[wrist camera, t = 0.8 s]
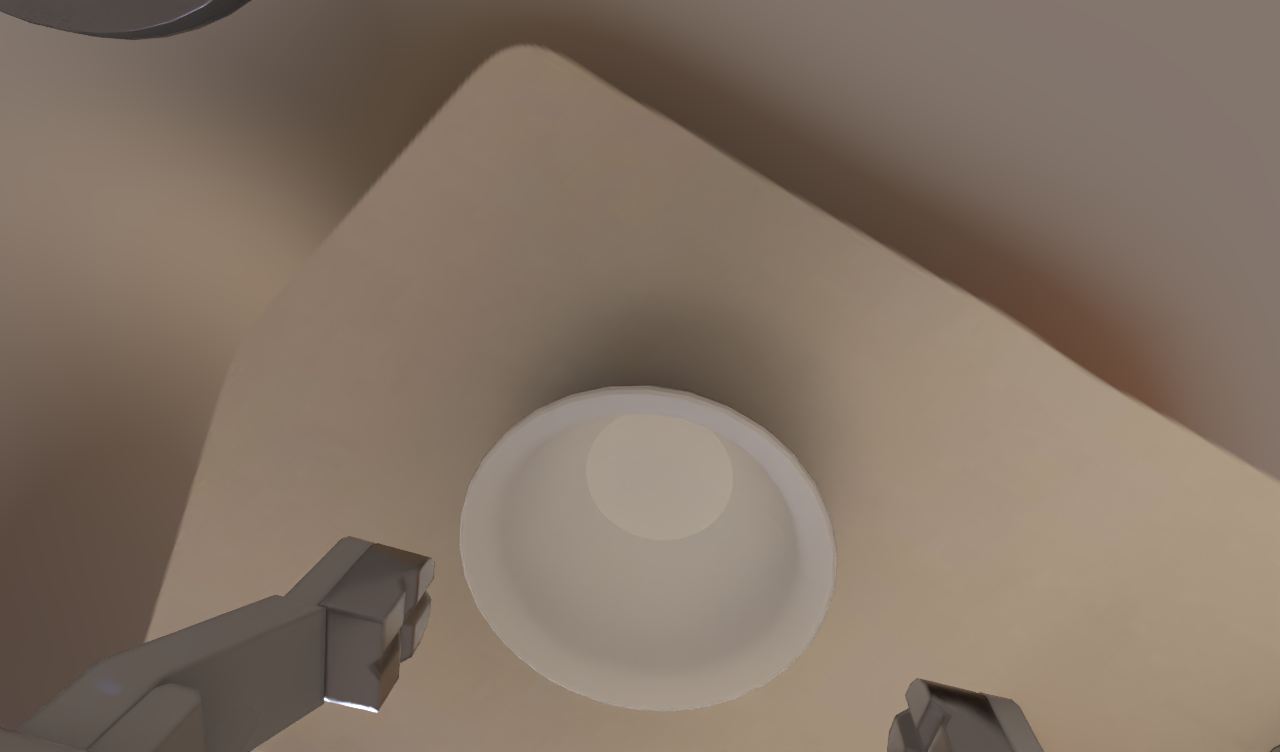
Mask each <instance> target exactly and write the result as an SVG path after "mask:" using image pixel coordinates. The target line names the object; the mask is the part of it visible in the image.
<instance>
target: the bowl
mask: <svg viewBox="0 0 1280 752" xmlns="http://www.w3.org/2000/svg"><path fill="white" fill-rule="evenodd" d="M459 547H460V553H461V558H462V564H463V569H464V574H465V578H466V581H467V583H468V586H469V588H470V591H471V593H472V595H473V598H474V600H475V603H476V605H477V607H478V609H479V610H480V612H481V613H482V615H483V616H484V618H485V619H486V621H487V622H488V624H489V625H490V627H491V628H492V630H493V632H494V633H495V634H496V635H497V636H498V637H499V638H500V639H501V640H502V641H503V642H504V643H505V645H506V646H507V647H508V648H509V649H510V650H511V651H512V652H513V653H514V654H515V655H516V656H517V657H518V658H520V659H521V660H522V661H523V662H525V663H526V664H527V665H529V666H530V667H531V668H533V669H534V670H535V671H537V672H538V673H539V674H541V675H542V676H543V677H545V678H547V679H549V680H551V681H553V682H555V683H556V684H558V685H560V686H562V687H564V688H566V689H567V690H569V691H571V692H574V693H577V694H579V695H582V696H585V697H588V698H590V699H593V700H596V701H599V702H601V703H605V704H610V705H615V706H620V707H625V708H630V709H635V710H651V711H678V710H688V709H697V708H704V707H708V706H712V705H715V704H719V703H723V702H726V701H730V700H734V699H736V698H738V697H740V696H742V695H745V694H747V693H749V692H751V691H753V690H755V689H757V688H760V687H762V686H764V685H765V684H767V683H768V682H769V681H771V680H772V679H773V678H775V677H776V676H778V675H779V674H780V673H782V672H783V671H784V670H786V669H787V668H789V667H790V666H791V665H792V664H793V662H794V661H795V660H796V659H797V658H798V657H799V656H800V655H801V654H802V653H803V651H804V650H805V649H806V648H807V647H808V646H809V645H810V644H811V642H812V640H813V639H814V637H815V635H816V633H817V632H818V630H819V628H820V626H821V625H822V623H823V621H824V619H825V618H826V616H827V612H828V609H829V605H830V602H831V598H832V595H833V592H834V588H835V584H836V563H837V547H836V541H835V536H834V531H833V526H832V521H831V516H830V514H829V512H828V509H827V507H826V505H825V503H824V501H823V498H822V496H821V494H820V492H819V490H818V487H817V485H816V483H815V482H814V481H813V479H812V478H811V476H810V475H809V474H808V472H807V471H806V470H805V468H804V467H803V466H802V464H801V463H800V462H799V460H798V459H797V458H796V456H795V455H794V454H793V453H792V452H791V451H790V450H789V449H788V448H787V447H785V446H784V445H783V444H782V443H781V442H780V441H779V440H778V439H777V438H775V437H774V436H773V435H772V434H771V433H770V432H769V431H768V430H766V429H765V428H764V427H763V426H761V425H759V424H757V423H756V422H754V421H752V420H751V419H749V418H747V417H746V416H744V415H742V414H740V413H739V412H737V411H735V410H734V409H732V408H730V407H728V406H726V405H723V404H720V403H718V402H716V401H714V400H713V399H710V398H707V397H704V396H702V395H699V394H696V393H693V392H691V391H688V390H684V389H678V388H672V387H666V386H660V385H637V386H614V387H604V388H600V389H595V390H590V391H586V392H581V393H576V394H572V395H569V396H566V397H564V398H562V399H559V400H557V401H555V402H552V403H550V404H548V405H546V406H543V407H541V408H539V409H536V410H535V411H533V412H532V413H531V414H529V415H528V416H526V417H525V418H524V419H522V420H521V421H519V422H518V423H517V424H515V425H514V426H512V427H511V428H510V429H508V430H507V431H506V432H505V433H504V434H503V435H502V437H501V438H500V439H499V440H498V441H497V442H496V443H495V444H494V446H493V447H492V448H491V449H490V450H489V451H488V452H487V453H486V454H485V456H484V458H483V460H482V461H481V463H480V465H479V467H478V469H477V471H476V472H475V474H474V476H473V478H472V480H471V482H470V483H469V487H468V491H467V494H466V498H465V502H464V505H463V509H462V513H461V518H460V546H459Z"/></svg>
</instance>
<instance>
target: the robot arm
mask: <svg viewBox="0 0 1280 752" xmlns="http://www.w3.org/2000/svg"><path fill="white" fill-rule="evenodd" d="M434 565H435V562H434V561H433V559H432V558H430V557H426V556H422V555H419V554H415V553H411V552H408V551H404V550H400V549H397V548H393V547H389V546H386V545H382V544H378V543H377V544H375V543H373V542H369V541H365V540H362V539H358V538H354V537H351V536H348V537H345V538H343V539H341V540H340V541H339V542H338V543H337V544H336V545H335V546H334V547H333V548H332V549H331V550H330V551H329V552H328V553H327V554H326V555H325V556H324V557H323V558H322V559H321V560H320V561H319V562H318V563H317V564H316V565H315V566H314V567H313V568H312V569H311V570H310V571H309V572H308V573H307V574H306V575H305V576H304V577H303V578H302V579H301V580H300V581H299V582H298V583H297V584H296V585H295V586H294V587H293V588H292V589H291V590H290V591H289V592H288V593H287V594H286V595H285V596H284V597H282V596H278V595H274V596H271V597H268V598H265V599H263V600H260V601H257V602H255V603H252V604H249V605H247V606H244V607H241V608H239V609H236V610H233V611H230V612H228V613H225V614H222V615H220V616H217V617H214V618H212V619H209V620H206V621H204V622H201V623H198V624H195V625H193V626H190V627H187V628H185V629H182V630H179V631H177V632H174V633H171V634H169V635H166V636H163V637H160V638H158V639H155V640H152V641H150V642H147V643H144V644H142V645H139V646H136V647H134V648H131V649H128V650H126V651H123V652H120V653H117V654H115V655H112V656H109V657H107V658H104V659H101V660H99V661H98V662H96V663H95V664H94V665H93V666H91V667H90V668H89V669H88V670H86V671H85V672H84V673H83V674H82V675H80V676H79V677H78V678H77V679H75V680H74V681H73V682H72V683H70V684H69V685H68V686H67V687H66V688H64V689H63V690H62V691H61V692H59V693H58V694H57V695H56V696H55V697H53V698H52V699H51V700H50V701H48V702H47V703H46V704H45V705H44V706H42V707H41V708H40V709H39V710H37V711H36V712H35V713H34V714H32V715H31V716H30V717H29V718H28V719H26V720H25V721H24V722H23V723H21V724H20V725H19V726H18V727H16V729H14V730H13V731H12V730H8V729H5V728H1V727H0V752H250V751H251V750H253V749H254V748H256V747H257V746H259V745H260V744H262V743H264V742H265V741H267V740H268V739H270V738H271V737H273V736H274V735H276V734H278V733H279V732H281V731H282V730H284V729H285V728H287V727H288V726H290V725H291V724H293V723H295V722H296V721H298V720H299V719H301V718H302V717H304V716H305V715H307V714H308V713H310V712H312V711H313V710H315V709H316V708H318V707H319V706H321V705H322V704H324V700H325V701H329V702H334V703H338V704H343V705H347V706H351V707H356V708H360V709H365V710H369V711H373V712H378V711H379V709H380V707H381V706H382V704H383V703H384V701H385V699H386V698H387V696H388V695H389V693H390V691H391V690H392V688H393V686H394V685H395V683H396V682H397V680H398V678H399V667H400V663H401V662H403V661H405V660H407V659H408V658H410V657H412V655H413V654H414V652H415V650H416V649H417V647H418V645H419V643H420V641H421V639H422V636H423V634H424V631H425V629H426V626H427V623H428V619H429V615H430V609H431V601H432V599H431V598H430V596H429V594H428V593H427V591H426V589H427V588H428V586H429V585H430V583H431V582H432V580H433V579H434ZM905 697H906V700H907V703H908V706H909V708H908V709H907V710H905V711H903V712H901V713H899V714H898V715H896V716H895V718H894V721H893V723H892V726H891V728H890V731H889V737H888V746H887V752H1044V751H1043V749H1042V747H1041V745H1040V743H1039V742H1038V740H1037V738H1036V736H1035V734H1034V732H1033V731H1032V729H1031V727H1030V725H1029V723H1028V721H1027V720H1026V718H1025V716H1024V714H1023V712H1022V710H1021V708H1020V707H1019V706H1018V705H1017V704H1016V703H1015V702H1014V701H1013V700H1012V699H1007V698H1003V697H998V696H994V695H989V694H985V693H981V692H980V693H977V692H973V691H969V690H965V689H961V688H957V687H953V686H948V685H944V684H940V683H936V682H932V681H928V680H923V679H919V678H917V679H915V680H914V681H913V682H912V683H911V684H910V686H909V688H908V690H907V692H906V694H905Z"/></svg>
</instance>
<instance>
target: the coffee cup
mask: <svg viewBox="0 0 1280 752" xmlns="http://www.w3.org/2000/svg"><path fill="white" fill-rule="evenodd" d="M1272 752H1280V746H1279V747H1277V748H1275V749H1274V750H1273V751H1272Z"/></svg>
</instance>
